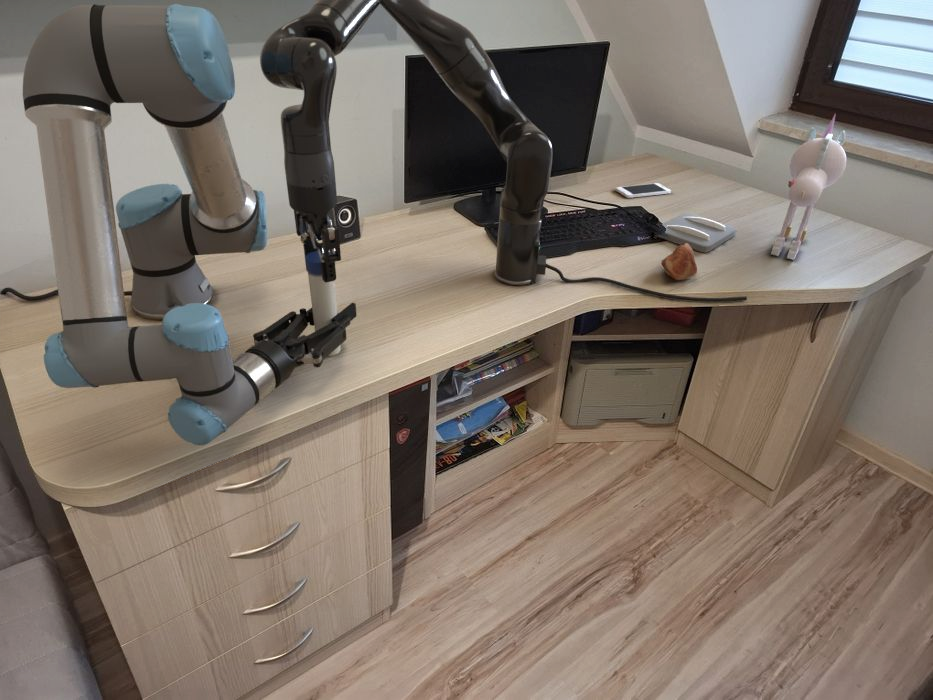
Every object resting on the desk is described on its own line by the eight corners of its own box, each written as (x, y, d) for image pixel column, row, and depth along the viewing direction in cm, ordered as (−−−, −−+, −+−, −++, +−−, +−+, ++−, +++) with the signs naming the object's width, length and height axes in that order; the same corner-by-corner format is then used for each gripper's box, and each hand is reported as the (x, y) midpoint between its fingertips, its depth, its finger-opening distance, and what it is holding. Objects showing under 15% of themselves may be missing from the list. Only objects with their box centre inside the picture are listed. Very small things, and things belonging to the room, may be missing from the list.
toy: (826, 222, 178) (867, 110, 161) (806, 269, 152) (852, 142, 135) (779, 212, 183) (814, 103, 167) (751, 256, 157) (789, 132, 141)
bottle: (332, 358, 115) (323, 268, 105) (312, 352, 117) (301, 262, 107) (345, 346, 119) (337, 257, 109) (325, 341, 120) (316, 253, 110)
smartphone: (614, 190, 195) (615, 187, 194) (657, 185, 199) (658, 182, 199) (627, 198, 189) (628, 195, 189) (671, 193, 194) (671, 190, 193)
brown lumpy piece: (670, 275, 139) (676, 230, 139) (641, 277, 146) (647, 234, 147) (708, 285, 146) (713, 242, 146) (678, 286, 153) (683, 245, 153)
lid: (339, 269, 108) (338, 257, 107) (315, 277, 106) (314, 265, 104) (325, 260, 111) (323, 248, 110) (300, 267, 109) (299, 255, 107)
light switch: (708, 241, 156) (653, 223, 165) (705, 253, 158) (650, 234, 167) (740, 223, 167) (687, 206, 176) (737, 234, 169) (684, 217, 178)
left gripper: (220, 375, 105) (306, 312, 123) (306, 405, 100) (384, 335, 117) (211, 337, 101) (302, 278, 119) (301, 366, 95) (382, 299, 113)
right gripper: (272, 167, 103) (285, 260, 112) (304, 195, 93) (315, 294, 102) (316, 160, 106) (325, 251, 116) (351, 187, 96) (358, 283, 106)
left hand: (342, 306), depth 118 cm, fingers closed on bottle, 4 cm apart
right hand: (320, 271), depth 109 cm, fingers open, 7 cm apart
